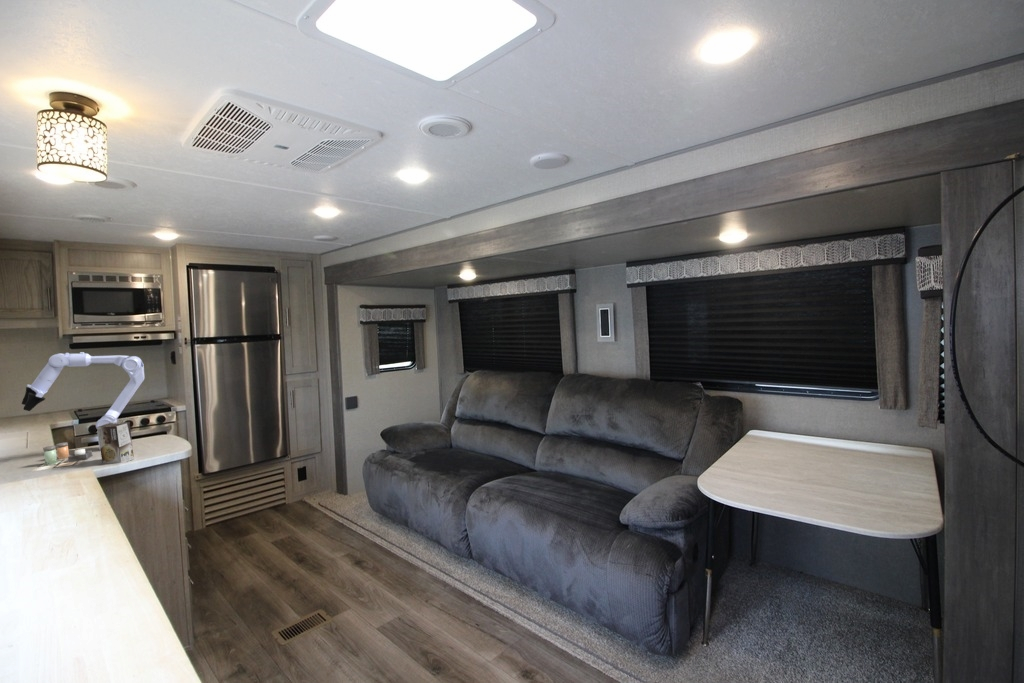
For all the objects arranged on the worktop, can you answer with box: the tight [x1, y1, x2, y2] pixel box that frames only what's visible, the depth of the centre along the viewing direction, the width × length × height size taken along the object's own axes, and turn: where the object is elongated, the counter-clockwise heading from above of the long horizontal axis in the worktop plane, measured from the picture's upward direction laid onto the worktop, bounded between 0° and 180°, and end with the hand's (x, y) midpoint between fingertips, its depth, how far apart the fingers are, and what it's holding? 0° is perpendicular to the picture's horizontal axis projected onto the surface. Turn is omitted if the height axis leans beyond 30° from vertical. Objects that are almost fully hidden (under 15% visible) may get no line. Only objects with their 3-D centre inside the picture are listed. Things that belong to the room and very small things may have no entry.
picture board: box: [31, 450, 93, 472], centre depth 199 cm, size 16×13×3 cm
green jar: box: [42, 445, 58, 465], centre depth 199 cm, size 4×4×7 cm
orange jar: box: [55, 441, 70, 460], centre depth 207 cm, size 4×4×7 cm
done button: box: [73, 448, 86, 455], centre depth 204 cm, size 3×3×3 cm
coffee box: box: [96, 421, 135, 464], centre depth 200 cm, size 9×6×16 cm
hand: (25, 407), depth 203 cm, fingers open, 7 cm apart
